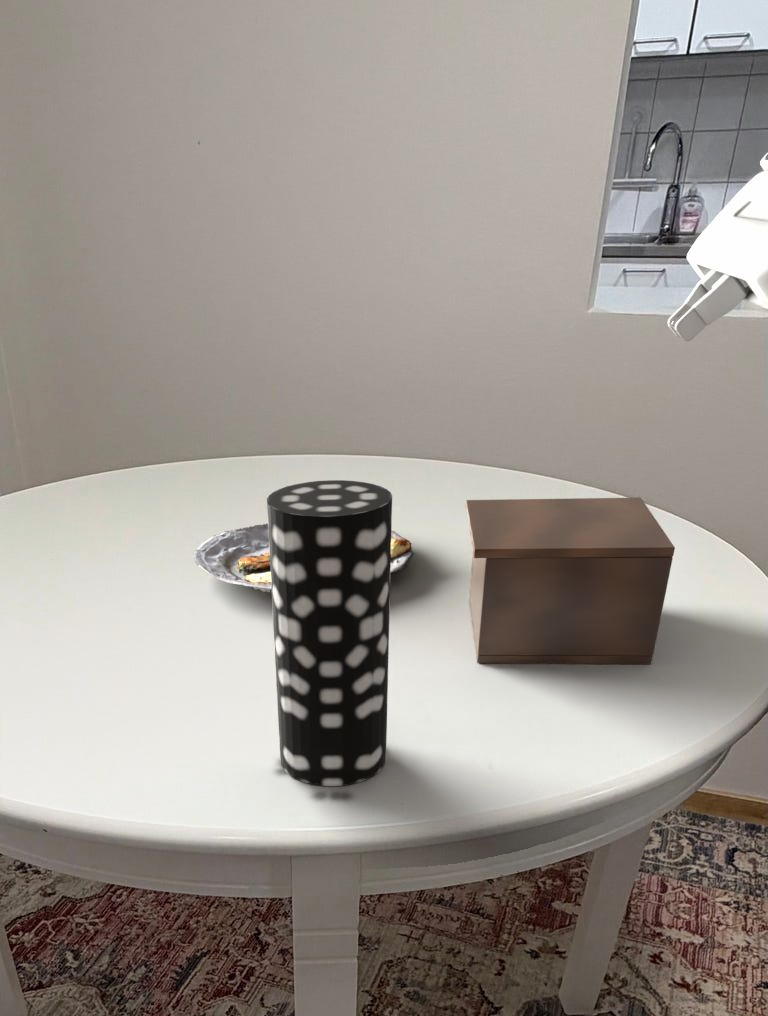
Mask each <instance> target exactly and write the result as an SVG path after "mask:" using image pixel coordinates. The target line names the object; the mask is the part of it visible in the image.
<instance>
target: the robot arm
mask: <svg viewBox="0 0 768 1016" xmlns="http://www.w3.org/2000/svg"><path fill="white" fill-rule="evenodd" d="M759 164H760V165H759V166H760V167H761V168H762V171H760V172H759V173H757V174H755V175H754V176H753V177H752V178H751V179H750V180H748V181H747V183H746V184H744V185H743V187H742V188H741V189H740V190H738V192H737V193H736V194H735V195H734V196H733V198H731V199H730V200H729V202H728V203H727V204H726V205H725V206H724V207H723V208H722V209H721V210H720V212H719V213H717V215H716V216H715V217H714V218H713V219H712V221H711V222H710V223H709V224H708V225H707V226H706V228H705V229H704V230H703V231H702V232H701V233H700V234H699V236H698V237H697V238H696V239H695V241H694V242H693V243H692V245H691V247H690V248H689V250H688V252H687V254H686V261H687V262H688V263H689V265H690V266H691V267H692V269H693V271H694V272H695V273H696V275H697V276H698V277H699V278H700V280H699V281H697V283H696V284H695V286H694V288H692V290H691V292H690V293H689V295H688V296H687V298H686V299H685V301H684V302H683V304H682V305H681V306H680V307H679V308H678V309H677V310H676V311H675V312H674V313H672V314H671V315H670V317H668V319H667V326H668V328H669V329H670V330H671V332H673V334H674V335H675V336H676V337H678V338H679V339H681V340H683V341H685V342H690V341H692V340H694V338H695V337H697V336H698V335H699V334H700V333H701V332H702V331H703V330H704V329H705V328H707V326H710V325H711V324H712V323H714V322H715V321H717V320H719V319H720V318H722V317H724V316H725V315H727V314H728V313H730V312H732V311H733V310H734V309H735V308H736V307H737V306H738V305H739V304H740V303H741V302H742V301H745V302H747V303H750V304H753V305H756V306H758V307H760V308H764V309H766V310H768V152H766V153H765V155H764V156H763V157H762V158H761V160H760V161H759Z"/></svg>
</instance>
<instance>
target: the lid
mask: <svg viewBox="0 0 768 1016" xmlns="http://www.w3.org/2000/svg"><path fill="white" fill-rule="evenodd" d="M465 512H466V517H467V523H468V529H469V535H470V542H471V547H472V555H473V554H474V558H565V557H672V558H673V557H674V555H675V549H676V547H675V546H674V544H673V543H672V541H671V540H670V538H669V537H668V535H667V534H666V532H665V531H664V529H663V528H662V526H661V525H660V523H659V522H658V520H657V519H656V518H655V516H654V515H653V513H652V512H651V511H650V509H649V507H648V506H647V505H646V503H645V502H644V500H643V499H642V497H585V498H520V499H519V498H518V499H516V498H514V499H513V498H512V499H511V498H510V499H509V498H507V499H466V500H465Z"/></svg>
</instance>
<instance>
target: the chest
mask: <svg viewBox="0 0 768 1016" xmlns="http://www.w3.org/2000/svg"><path fill="white" fill-rule="evenodd" d="M471 558H472V559H471V570H470V584H469V598H468V606H469V607H468V608H469V615H470V621H471V627H472V628H471V629H472V637H473V642H474V651H475V656H476V657H475V658H476V664H556V665H557V664H560V665H561V664H563V665H564V664H567V665H569V664H572V665H573V664H575V665H576V664H577V665H578V664H579V665H584V664H585V665H652V663H653V658H654V653H655V648H656V643H657V638H658V634H659V628H660V624H661V620H662V619H661V618H662V613H663V608H664V605H665V604H664V603H665V599H666V593H667V590H668V589H667V588H668V583H669V579H670V575H671V570H672V569H671V568H672V563H673V559H674V558H673V557H565V558H474V554H473V553H472V557H471Z"/></svg>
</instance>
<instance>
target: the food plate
mask: <svg viewBox="0 0 768 1016" xmlns="http://www.w3.org/2000/svg"><path fill="white" fill-rule="evenodd" d="M412 548H413V547H412V542H411V541H410V540H409V539H407V538H404V537H402V536H401V535H400V534H399V533H397V532H396V531H395V530H392V529H391V570H390V574H393V573H396V572H400V571H401V570H403V569H404V568H405V567H407V566H408V564H409V562H410V561H411V559H412V558H413V557H414V556H415V553H414V551H413V550H412ZM193 560H194V562H195V563H196V565H197V566H198V567H199V568H200V569H201V570H202V571H203V572H204V571H205V573H206V574H208V575H210V576H212V577H214V578H215V579H217V580H218V581H220V582H223V583H227V584H231V585H233V584H234V585H240V586H244V587H251V588H253V589H254V590H255V591H256V590H260V591H261V592H263V593H272V588H271V569H270V550H269V531H268V523H263V524H255V525H250V526H246V527H241V528H237V529H236V528H235V529H231V530H226V531H225V530H224V532H222V533H218V534H216V535H213V536H211V537H210V538H208V539H207V540H204V541H203V543H201V545H199V546H198V547H197V548H196V549H195V551H194V552H193Z"/></svg>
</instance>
